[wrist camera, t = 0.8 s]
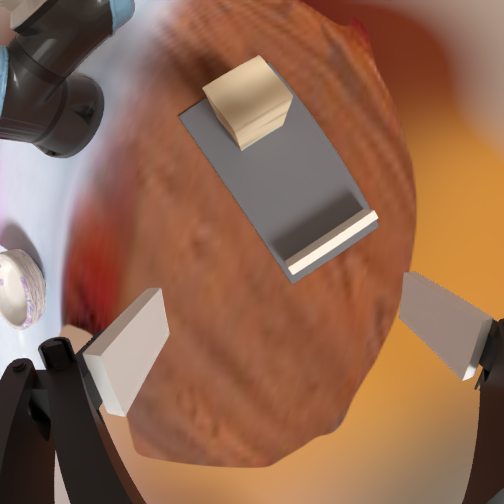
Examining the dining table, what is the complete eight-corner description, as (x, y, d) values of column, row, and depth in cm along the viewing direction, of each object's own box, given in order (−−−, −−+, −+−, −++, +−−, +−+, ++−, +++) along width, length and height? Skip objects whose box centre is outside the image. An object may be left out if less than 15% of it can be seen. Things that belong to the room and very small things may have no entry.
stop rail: (284, 260, 39) (287, 267, 35) (363, 208, 38) (374, 210, 34) (289, 267, 39) (292, 275, 36) (367, 215, 38) (378, 218, 34)
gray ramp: (179, 117, 36) (178, 116, 35) (268, 63, 34) (268, 61, 33) (291, 283, 40) (292, 284, 40) (378, 225, 38) (379, 225, 38)
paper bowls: (9, 242, 40) (-16, 248, 32) (52, 249, 40) (24, 259, 32) (17, 307, 43) (-5, 319, 35) (60, 323, 43) (37, 340, 35)
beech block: (218, 118, 35) (202, 87, 24) (258, 94, 35) (259, 55, 23) (241, 151, 36) (234, 130, 25) (282, 125, 35) (293, 95, 24)
